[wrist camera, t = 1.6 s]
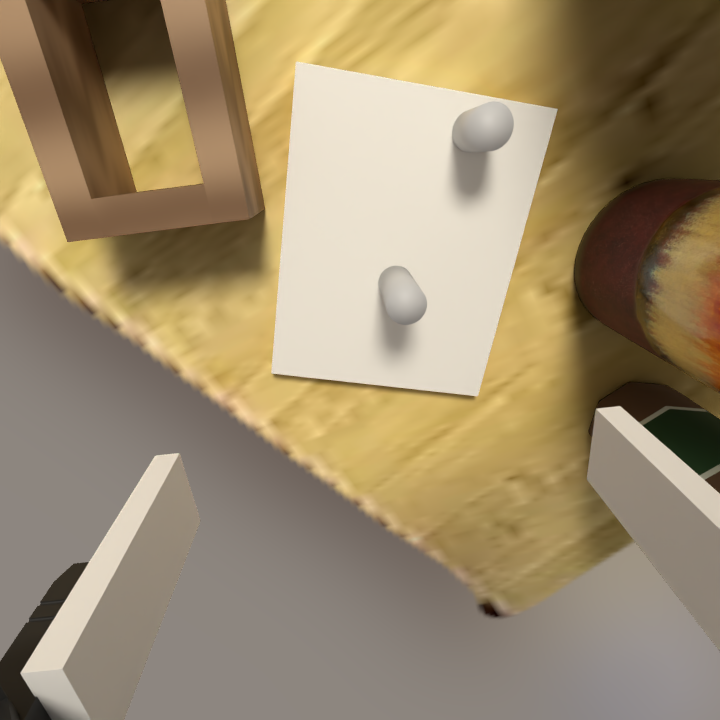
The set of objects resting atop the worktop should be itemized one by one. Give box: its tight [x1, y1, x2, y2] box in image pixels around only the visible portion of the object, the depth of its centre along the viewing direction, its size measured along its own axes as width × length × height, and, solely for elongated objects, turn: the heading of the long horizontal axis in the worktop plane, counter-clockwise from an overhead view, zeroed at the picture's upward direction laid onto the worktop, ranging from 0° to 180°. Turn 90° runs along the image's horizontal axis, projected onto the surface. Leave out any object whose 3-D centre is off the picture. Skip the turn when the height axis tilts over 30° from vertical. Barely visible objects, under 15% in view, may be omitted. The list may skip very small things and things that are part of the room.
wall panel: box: [272, 62, 558, 396], centre depth 29 cm, size 20×16×6 cm
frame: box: [0, 0, 265, 242], centre depth 25 cm, size 14×10×6 cm
